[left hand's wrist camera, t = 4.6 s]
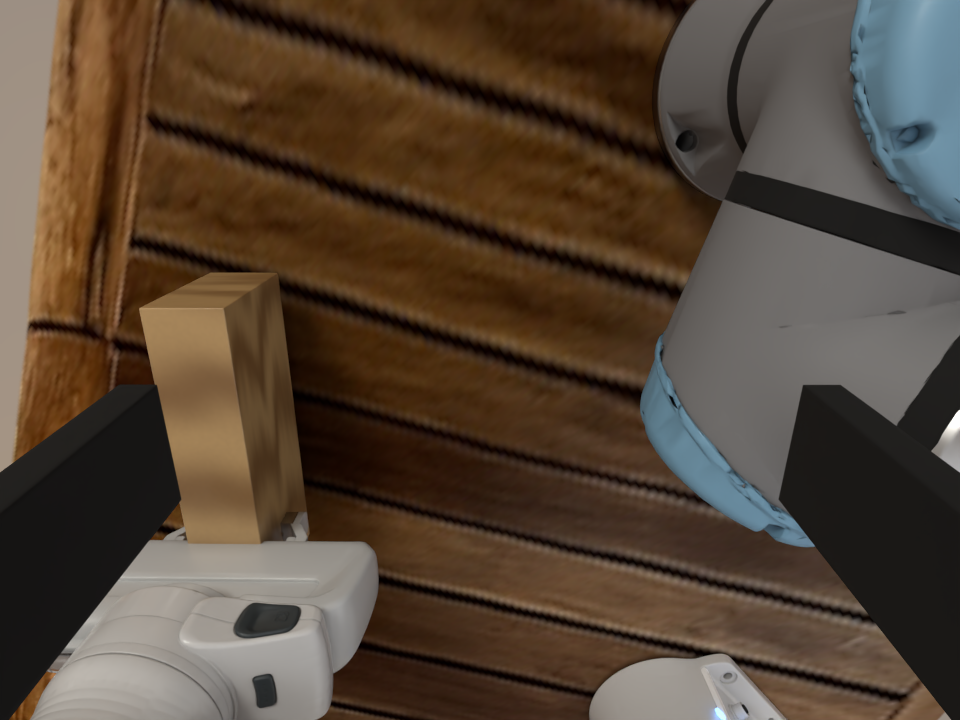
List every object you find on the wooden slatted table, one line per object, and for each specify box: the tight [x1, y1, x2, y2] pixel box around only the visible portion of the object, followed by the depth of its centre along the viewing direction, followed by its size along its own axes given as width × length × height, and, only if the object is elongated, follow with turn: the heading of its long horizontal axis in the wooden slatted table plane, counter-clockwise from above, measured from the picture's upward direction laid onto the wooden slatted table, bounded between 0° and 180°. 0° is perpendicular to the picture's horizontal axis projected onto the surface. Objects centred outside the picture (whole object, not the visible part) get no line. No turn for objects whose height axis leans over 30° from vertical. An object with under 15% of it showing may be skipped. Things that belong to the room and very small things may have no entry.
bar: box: [139, 273, 310, 544], centre depth 43 cm, size 22×5×9 cm, turn 0°
